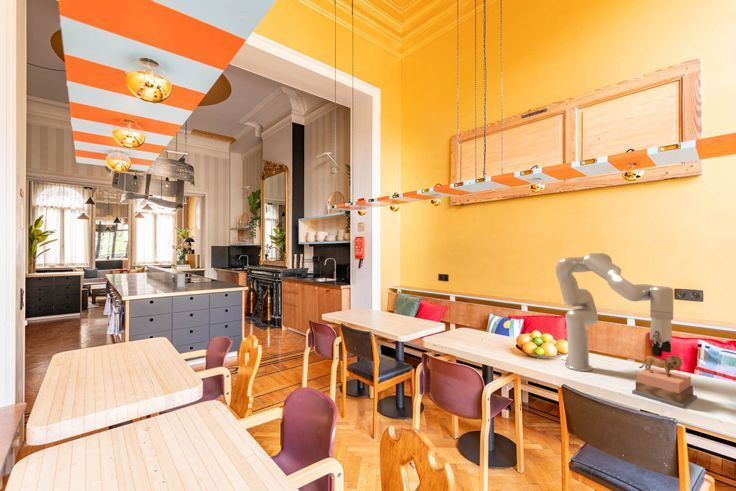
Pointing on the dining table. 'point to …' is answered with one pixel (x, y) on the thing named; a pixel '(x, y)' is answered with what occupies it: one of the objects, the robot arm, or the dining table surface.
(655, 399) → the baseplate
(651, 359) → the lion figurine
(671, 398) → the brown flat block
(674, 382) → the top brick
